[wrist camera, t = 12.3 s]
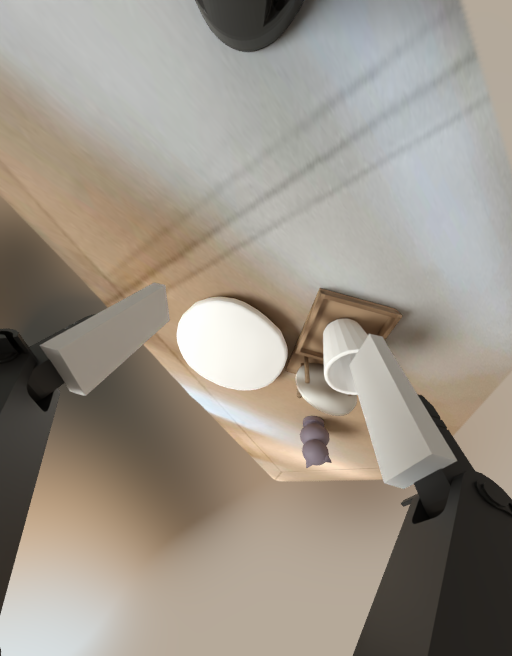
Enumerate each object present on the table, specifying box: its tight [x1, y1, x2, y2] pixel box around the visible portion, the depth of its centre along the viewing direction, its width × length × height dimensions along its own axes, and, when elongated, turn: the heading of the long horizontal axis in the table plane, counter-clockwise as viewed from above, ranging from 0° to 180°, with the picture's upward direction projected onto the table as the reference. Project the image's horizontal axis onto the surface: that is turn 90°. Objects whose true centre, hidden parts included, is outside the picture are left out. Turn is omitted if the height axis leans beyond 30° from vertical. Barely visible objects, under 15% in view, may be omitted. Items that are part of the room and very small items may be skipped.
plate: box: [177, 297, 288, 390], centre depth 47 cm, size 28×6×27 cm
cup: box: [323, 318, 368, 395], centre depth 35 cm, size 10×10×13 cm
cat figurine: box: [300, 416, 332, 468], centre depth 55 cm, size 8×8×12 cm
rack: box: [286, 288, 402, 416], centre depth 38 cm, size 23×15×14 cm
